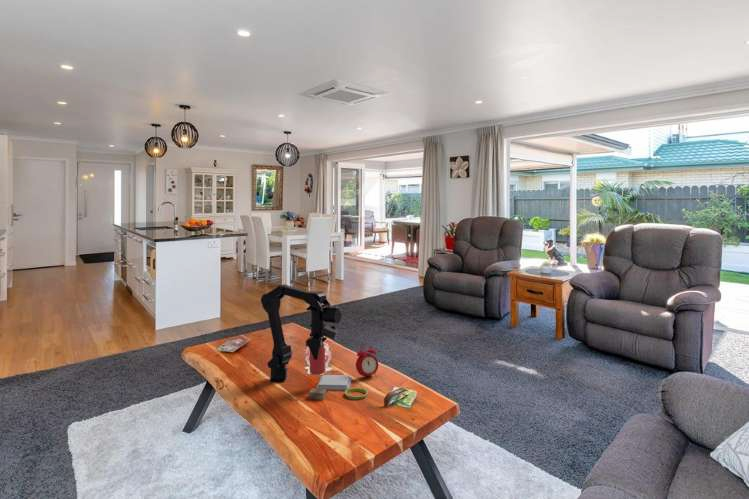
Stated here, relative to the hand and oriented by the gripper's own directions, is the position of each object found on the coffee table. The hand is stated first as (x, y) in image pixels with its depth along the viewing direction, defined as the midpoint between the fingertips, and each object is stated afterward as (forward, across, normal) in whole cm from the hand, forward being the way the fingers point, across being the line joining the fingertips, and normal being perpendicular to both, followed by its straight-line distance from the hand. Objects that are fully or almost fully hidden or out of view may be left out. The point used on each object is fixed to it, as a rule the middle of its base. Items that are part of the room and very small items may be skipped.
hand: (317, 357), depth 178 cm
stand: (+13, +5, -7) cm, 16 cm away
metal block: (+14, -11, -2) cm, 17 cm away
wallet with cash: (+20, -6, -34) cm, 40 cm away
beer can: (+7, 0, 0) cm, 7 cm away
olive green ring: (+21, -7, -17) cm, 28 cm away
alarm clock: (+14, +15, -20) cm, 29 cm away
